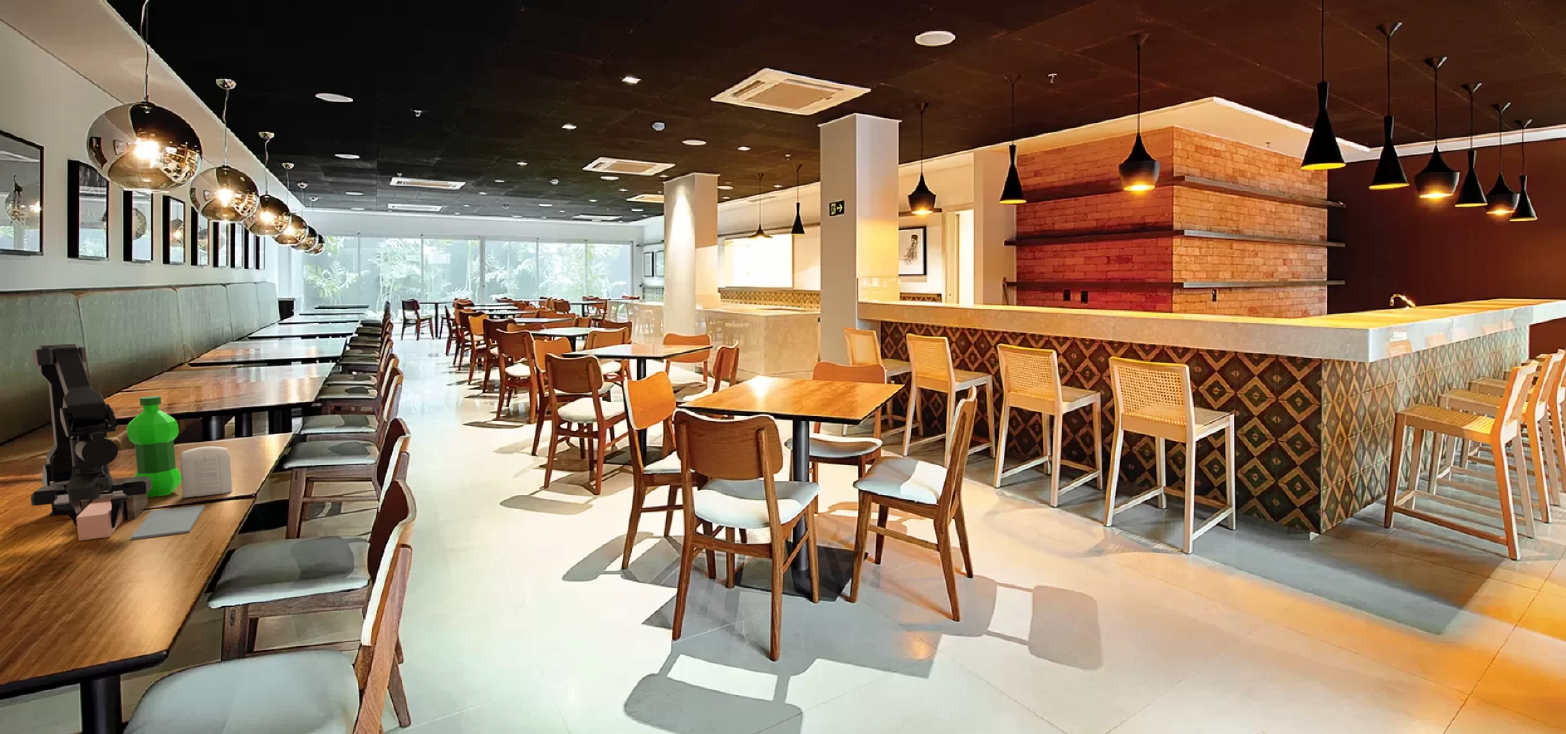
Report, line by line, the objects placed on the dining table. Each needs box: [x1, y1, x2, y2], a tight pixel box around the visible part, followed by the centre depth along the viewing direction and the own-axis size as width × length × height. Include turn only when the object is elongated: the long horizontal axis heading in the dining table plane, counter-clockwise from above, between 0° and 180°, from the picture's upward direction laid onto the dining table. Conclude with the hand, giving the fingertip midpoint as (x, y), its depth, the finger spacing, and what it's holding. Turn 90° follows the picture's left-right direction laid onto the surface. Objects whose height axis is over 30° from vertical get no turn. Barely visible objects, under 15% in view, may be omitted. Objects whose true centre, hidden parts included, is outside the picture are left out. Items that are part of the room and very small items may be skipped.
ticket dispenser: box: [80, 476, 149, 521], centre depth 181 cm, size 9×14×7 cm, turn 29°
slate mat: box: [130, 504, 206, 540], centre depth 176 cm, size 10×21×1 cm, turn 29°
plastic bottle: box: [126, 395, 182, 498], centre depth 197 cm, size 10×10×25 cm
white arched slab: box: [179, 445, 233, 499], centre depth 198 cm, size 10×4×12 cm, turn 123°
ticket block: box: [76, 498, 127, 541], centre depth 172 cm, size 5×17×5 cm, turn 31°
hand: (97, 529), depth 167 cm, fingers closed on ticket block, 5 cm apart
